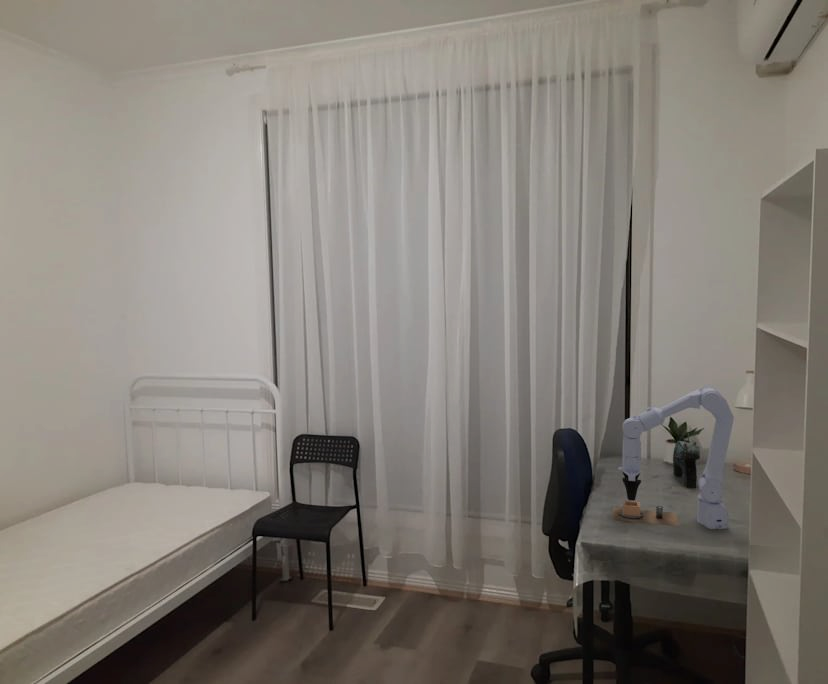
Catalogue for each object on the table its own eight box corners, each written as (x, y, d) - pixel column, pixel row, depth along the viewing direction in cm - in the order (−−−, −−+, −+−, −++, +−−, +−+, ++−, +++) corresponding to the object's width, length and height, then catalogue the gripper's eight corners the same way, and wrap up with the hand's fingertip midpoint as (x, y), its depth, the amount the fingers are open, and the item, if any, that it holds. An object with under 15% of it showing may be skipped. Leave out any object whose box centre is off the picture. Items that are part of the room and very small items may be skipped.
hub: (642, 512, 209) (643, 502, 209) (643, 520, 202) (643, 510, 202) (618, 510, 212) (618, 500, 212) (618, 517, 205) (618, 508, 204)
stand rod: (662, 516, 205) (662, 506, 205) (662, 518, 203) (663, 508, 203) (655, 516, 206) (656, 505, 205) (656, 518, 204) (656, 507, 203)
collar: (639, 510, 209) (639, 501, 208) (640, 516, 204) (640, 507, 203) (622, 509, 210) (622, 500, 210) (622, 514, 205) (622, 505, 205)
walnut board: (676, 517, 208) (676, 512, 208) (679, 530, 197) (679, 526, 197) (613, 511, 215) (613, 507, 214) (612, 524, 203) (612, 519, 203)
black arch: (700, 489, 236) (702, 437, 235) (682, 489, 237) (683, 437, 236) (684, 474, 256) (685, 425, 254) (667, 474, 257) (668, 425, 255)
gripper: (618, 449, 214) (618, 488, 215) (618, 460, 200) (618, 502, 201) (641, 450, 211) (640, 490, 212) (642, 461, 198) (641, 504, 199)
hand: (631, 496), depth 206 cm, fingers open, 7 cm apart
